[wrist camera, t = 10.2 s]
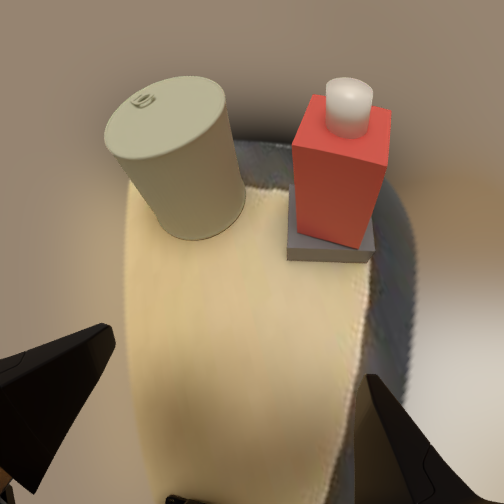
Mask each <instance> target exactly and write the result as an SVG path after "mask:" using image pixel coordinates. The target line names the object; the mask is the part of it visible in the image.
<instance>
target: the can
mask: <svg viewBox="0 0 504 504" xmlns="http://www.w3.org/2000/svg"><path fill="white" fill-rule="evenodd" d="M104 141H105V145H106V147H107V149H108V150H109V151H110V152H111V153H112V154H113V156H114V157H115V158H116V159H117V161H118V163H119V164H120V165H121V167H122V168H123V170H124V171H125V172H126V174H127V175H128V177H129V178H130V180H131V181H132V182H133V184H134V185H135V187H136V188H137V189H138V191H139V192H140V194H141V195H142V197H143V198H144V199H145V201H146V202H147V204H148V205H149V206H150V208H151V209H152V211H153V212H154V214H155V215H156V217H157V219H158V221H159V223H160V225H161V226H162V227H163V229H164V230H165V231H166V232H168V233H169V234H171V235H173V236H174V237H177V238H180V239H184V240H201V239H206V238H209V237H212V236H215V235H217V234H219V233H221V232H222V231H224V230H225V229H227V228H228V227H229V226H230V225H231V224H232V223H233V222H234V221H235V220H236V219H237V217H238V216H239V215H240V213H241V211H242V209H243V206H244V203H245V197H246V191H245V186H244V183H243V180H242V178H241V175H240V171H239V166H238V162H237V157H236V152H235V148H234V143H233V138H232V133H231V128H230V124H229V118H228V113H227V108H226V97H225V93H224V91H223V89H222V88H221V87H220V86H219V85H218V84H217V83H216V82H214V81H212V80H210V79H207V78H203V77H197V76H181V77H175V78H170V79H166V80H163V81H159V82H157V83H154V84H152V85H149V86H148V87H146V88H143V89H142V90H140V91H138V92H137V93H135V94H134V95H132V96H131V97H130V98H128V99H127V100H126V101H125V102H124V103H123V104H121V105H120V106H119V108H118V109H117V110H116V111H115V112H114V114H113V115H112V116H111V118H110V119H109V121H108V123H107V126H106V129H105V133H104Z"/></svg>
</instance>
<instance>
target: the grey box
mask: <svg viewBox="0 0 504 504" xmlns="http://www.w3.org/2000/svg"><path fill="white" fill-rule="evenodd" d="M374 252H375V246H374V236H373V227H372V218H371V217H370V220H369V223H368V226H367V229H366V231H365V234H364V237H363V239H362V242H361V245H360V247H359V249H356V248H352V247H348V246H345V245H341V244H337V243H334V242H330V241H326V240H323V239H319V238H315V237H311V236H308V235H304V234H300V233H297V218H296V199H295V185H294V184H289V212H288V243H287V260H290V261H316V262H343V263H367V262H368V260H369V259H370V258H371V256H372V255H373V253H374Z"/></svg>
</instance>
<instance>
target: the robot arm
mask: <svg viewBox="0 0 504 504" xmlns="http://www.w3.org/2000/svg"><path fill="white" fill-rule="evenodd" d="M115 345H116V342H115V338H114V334H113V330H112V327H111V326H110V325H107V324H104V323H100V324H97V325H94V326H92V327H89V328H86V329H84V330H81V331H78V332H76V333H73V334H70V335H68V336H65V337H62V338H60V339H57V340H54V341H52V342H49V343H46V344H43V345H41V346H38V347H35V348H33V349H30V350H28V351H24V352H22V353H19V354H16V355H13V356H10V357H7V358H4V359H0V504H15V500H14V494H13V489H12V486H11V485H10V484H9V483H10V482H11V480H12V479H14V480H16V481H17V482H18V483H19V484H20V485H22V486H23V487H24V488H25V489H27V490H28V491H29V492H31V493H32V494H33V495H34V494H35V493H36V491H37V489H38V487H39V485H40V483H41V481H42V479H43V477H44V475H45V473H46V471H47V469H48V467H49V466H50V464H51V462H52V460H53V458H54V456H55V454H56V452H57V450H58V449H59V447H60V445H61V443H62V441H63V440H64V438H65V436H66V434H67V433H68V431H69V429H70V427H71V426H72V424H73V422H74V420H75V419H76V417H77V415H78V414H79V412H80V410H81V408H82V407H83V405H84V404H85V402H86V400H87V399H88V397H89V395H90V394H91V392H92V391H93V389H94V387H95V386H96V384H97V382H98V381H99V379H100V377H101V375H102V373H103V371H104V369H105V367H106V365H107V363H108V361H109V359H110V357H111V355H112V353H113V351H114V348H115ZM354 463H355V501H354V504H504V503H498V502H492V501H488V500H485V499H483V498H481V497H479V496H478V495H476V494H475V493H474V492H473V491H472V490H471V489H470V488H469V487H468V486H467V485H466V484H465V483H464V482H463V481H462V479H461V478H460V477H459V476H458V475H457V474H456V473H455V472H454V471H453V470H452V469H451V468H450V467H449V466H448V465H447V463H446V462H445V461H444V460H443V459H442V457H441V456H440V455H439V454H438V452H437V451H436V450H435V448H434V447H433V446H432V445H430V442H429V441H428V439H427V438H426V437H425V435H424V434H423V433H422V431H421V430H420V429H419V428H418V426H417V425H416V424H415V423H414V421H413V420H412V418H411V417H410V416H409V415H408V413H407V412H406V411H405V409H404V408H403V407H402V406H401V404H400V403H399V402H398V400H397V399H396V398H395V397H394V395H393V394H392V393H391V391H390V390H389V389H388V388H387V386H386V385H385V384H384V383H383V381H382V380H381V379H380V378H379V376H378V375H376V374H365V375H364V377H363V379H362V381H361V383H360V386H359V388H358V390H357V394H356V410H355V424H354ZM170 499H173V500H174V502H173V501H171V500H170ZM165 504H205V503H201V502H197V501H194V500H187V499H184V498H180V497H177V496H174V495H169V496H168V497H167V498H166V502H165Z"/></svg>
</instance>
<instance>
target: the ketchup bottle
mask: <svg viewBox="0 0 504 504" xmlns="http://www.w3.org/2000/svg"><path fill="white" fill-rule="evenodd" d="M372 97H373V90H372V89H371V87H370V86H369V85H367V84H366V83H364V82H362V81H360V80H357V79H354V78H347V77H346V78H345V77H341V78H335V79H332V80H330V81H329V82H328V83H327V85H326V96H321V95H315V94H313V95H312V98H311V100H310V103H309V105H308V107H307V110H306V112H305V115H304V117H303V119H302V122H301V124H300V126H299V129H298V131H297V134H296V136H295V138H294V141H293V143H292V154H293V167H294V182H295V199H296V218H297V233H300V234H304V235H308V236H311V237H315V238H319V239H323V240H326V241H330V242H334V243H337V244H341V245H345V246H348V247H352V248H356V249H359V247H360V245H361V242H362V239H363V237H364V234H365V231H366V229H367V226H368V223H369V220H370V217H371V215H372V212H373V209H374V206H375V203H376V200H377V197H378V194H379V191H380V188H381V185H382V182H383V178H384V175H385V172H386V169H387V163H388V152H389V141H390V127H391V110H387V109H384V108H379V107H375V106H371V105H372Z"/></svg>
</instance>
